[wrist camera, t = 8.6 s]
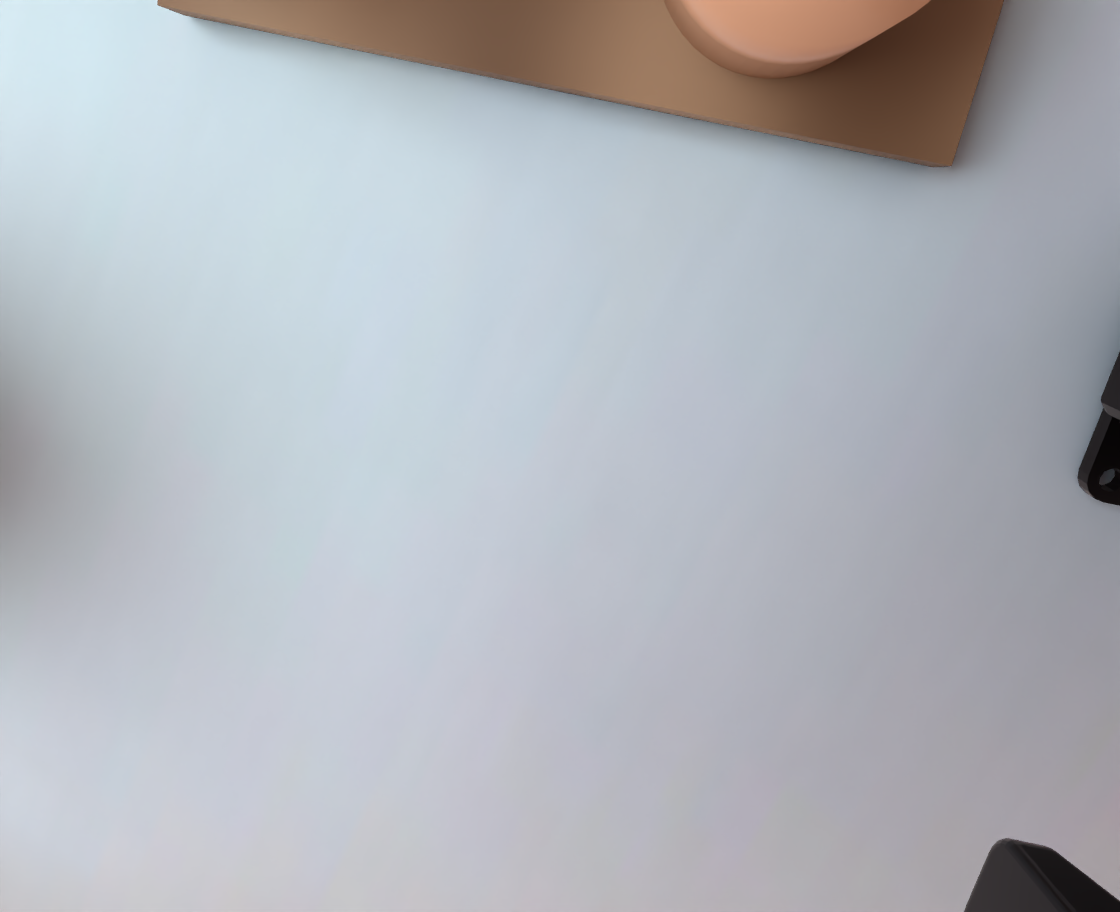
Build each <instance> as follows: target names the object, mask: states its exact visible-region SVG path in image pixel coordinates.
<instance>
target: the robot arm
mask: <svg viewBox="0 0 1120 912" xmlns="http://www.w3.org/2000/svg"><path fill="white" fill-rule="evenodd" d="M1101 402H1102V404H1103V407H1104V408H1103V411H1102V413H1101V416H1100V418H1099V421H1098V423H1097V426H1096V428H1095V431H1094V433H1093V436H1092V438H1091V441H1090V443H1089V446H1088V448H1087V450H1086V453H1085V455H1084V458H1083V460H1082V463H1081V465H1080V468H1079V472H1078V477H1077V478H1078V482H1079V486H1080V487H1081V488H1082V489H1083V490H1084V491H1085V492H1086V493H1087V494H1089V495H1090V496H1092V497H1093V498H1095V499H1097V500H1099V501H1102V502H1105V503H1110V504H1115V505H1120V352H1119V355H1118V357H1117V360H1116V362H1115V365H1114V367H1113V370H1112V372H1111V375H1110V377H1109V380H1108V382H1107V385H1106V387H1105V390H1104V392H1103V395H1102V397H1101ZM1109 469H1115V476H1114V478H1113V479H1112V480H1111V482H1109V483H1107V484H1105V485H1100V484H1099V482H1100V477H1101V475H1102V474H1103V473H1104V472H1105V471H1107V470H1109ZM964 912H1120V901H1119V900H1118V899H1116V898H1115V897H1114V896H1112V895H1111V894H1110V893H1109V892H1107V891H1106V890H1105V889H1103V888H1102V887H1101V886H1100V885H1098V884H1097V883H1096V882H1094V881H1093V880H1092V879H1091V878H1089V877H1088V876H1087V875H1085V874H1084V873H1083V872H1082V871H1080V870H1079V869H1078V868H1076V867H1075V866H1074V865H1073V864H1071V863H1070V862H1069V861H1067V860H1066V859H1065V858H1064V857H1062V856H1061V855H1060V854H1059V853H1057V852H1056V851H1054V850H1053V849H1051V848H1049V847H1046V846H1043V845H1038V844H1033V843H1028V842H1024V841H1019V840H1014V839H1009V838H1005V839H1002V840H999V841H997V842H996V843H995V844H994V845H993V846H992V848H991V850H990V852H989V854H988V856H987V858H986V861H985V863H984V865H983V868H982V870H981V872H980V875H979V877H978V879H977V882H976V884H975V886H974V889H973V891H972V893H971V896H970V898H969V900H968V903H967V905H966V908H965V911H964Z"/></svg>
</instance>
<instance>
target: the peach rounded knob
mask: <svg viewBox="0 0 1120 912" xmlns="http://www.w3.org/2000/svg"><path fill="white" fill-rule="evenodd" d="M929 1H931V0H664V2H665V5H666V7H667V9H668V11H669V13H670V15H671V17H672V19H673V21H674V23H675V24H676V26H677V27H678V29H679V30H680V32H681V33H682V35H683V36H684V37H685V38H686V39H687V40H688V41H689V42H690V44H691V45H692V46H693V47H694V48H695V49H697V50H698V51H699V52H700V53H701V54H702V55H704V56H705V57H706V58H708V59H709V60H711V61H712V62H714V63H716V64H717V65H719V66H721V67H723V68H725V69H728V70H730V71H732V72H735V73H739V74H742V75H746V76H750V77H757V78H786V77H793V76H798V75H802V74H805V73H808V72H812V71H815V70H817V69H819V68H821V67H824V66H826V65H828V64H830V63H832V62H833V61H835V60H837V59H838V58H840V57H842V56H843V55H845V54H847V53H849V52H850V51H852V50H854V49H855V48H857V47H859V46H860V45H862V44H864V43H865V42H867V41H869V40H870V39H872V38H874V37H876V36H877V35H879V34H881V33H882V32H884V31H886V30H887V29H889V28H891V27H892V26H894V25H896V24H897V23H899V22H901V21H902V20H904V19H906V18H907V17H909V16H911V15H912V14H914V13H915V12H917V11H918V10H919V9H920V8H922V7H923V6H924V5H926V4H927V3H928V2H929Z"/></svg>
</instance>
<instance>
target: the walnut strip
mask: <svg viewBox="0 0 1120 912" xmlns="http://www.w3.org/2000/svg"><path fill="white" fill-rule="evenodd" d="M1003 2H1004V0H931V1H929V2H928V3H927V4H926V5H924V6H923V7H922V8H920V9H919V10H918V11H917V12H915V13H914V14H912V15H911V16H909V17H907V18H906V19H904V20H902V21H901V22H899V23H897V24H896V25H894V26H892V27H891V28H889V29H887V30H886V31H884V32H882V33H881V34H879V35H877V36H876V37H874V38H872V39H870V40H869V41H867V42H865V43H864V44H862V45H860V46H859V47H857V48H855V49H854V50H852V51H850V52H849V53H847V54H845V55H843V56H842V57H840V58H838V59H837V60H835V61H833V62H832V63H830V64H828V65H826V66H824V67H821V68H819V69H817V70H815V71H812V72H808V73H805V74H802V75H798V76H793V77H786V78H757V77H750V76H746V75H742V74H739V73H735V72H732V71H730V70H728V69H725V68H723V67H721V66H719V65H717V64H716V63H714V62H712V61H711V60H709V59H708V58H706V57H705V56H704V55H702V54H701V53H700V52H699V51H698V50H697V49H695V48H694V47H693V46H692V45H691V44H690V42H689V41H688V40H687V39H686V38H685V37H684V36H683V35H682V33H681V32H680V30H679V29H678V27H677V26H676V24H675V23H674V21H673V19H672V17H671V15H670V13H669V11H668V9H667V7H666V5H665V2H664V0H158V4H157V5H159V6H161V7H164V8H166V9H169V10H172V11H174V12H177V13H180V14H182V15H186V16H191V17H196V18H201V19H206V20H211V21H215V22H220V23H225V24H230V25H235V26H240V27H245V28H250V29H255V30H260V31H265V32H270V33H275V34H280V35H285V36H289V37H294V38H299V39H304V40H309V41H314V42H319V43H324V44H329V45H334V46H339V47H344V48H349V49H354V50H358V51H363V52H368V53H373V54H378V55H383V56H388V57H393V58H398V59H403V60H408V61H413V62H418V63H423V64H428V65H432V66H437V67H442V68H447V69H452V70H457V71H462V72H467V73H472V74H477V75H482V76H487V77H492V78H497V79H502V80H506V81H511V82H516V83H521V84H526V85H531V86H536V87H541V88H546V89H551V90H556V91H561V92H566V93H571V94H575V95H580V96H585V97H590V98H595V99H600V100H605V101H610V102H615V103H620V104H625V105H630V106H635V107H640V108H645V109H649V110H654V111H659V112H664V113H669V114H674V115H679V116H684V117H689V118H694V119H699V120H704V121H709V122H714V123H718V124H723V125H728V126H733V127H738V128H743V129H748V130H753V131H758V132H763V133H768V134H773V135H778V136H783V137H788V138H792V139H797V140H802V141H807V142H812V143H817V144H822V145H827V146H832V147H837V148H842V149H847V150H852V151H857V152H862V153H866V154H871V155H876V156H881V157H886V158H891V159H896V160H901V161H906V162H911V163H916V164H921V165H926V166H931V167H943V166H952V163H953V160H954V156H955V153H956V150H957V147H958V144H959V141H960V138H961V134H962V131H963V128H964V125H965V122H966V119H967V116H968V112H969V109H970V106H971V103H972V100H973V97H974V94H975V90H976V87H977V84H978V81H979V78H980V75H981V72H982V68H983V65H984V62H985V59H986V56H987V53H988V49H989V46H990V43H991V40H992V37H993V34H994V31H995V27H996V24H997V21H998V18H999V15H1000V12H1001V9H1002V5H1003Z"/></svg>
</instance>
